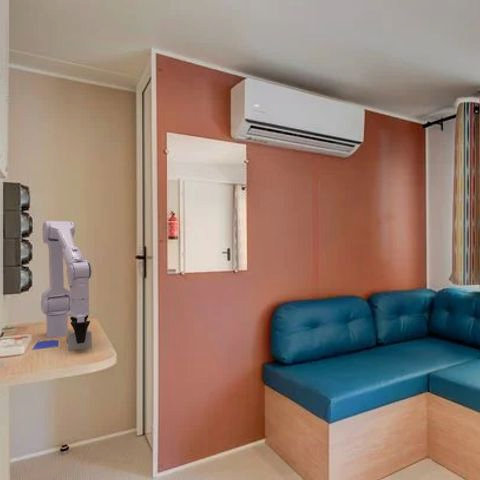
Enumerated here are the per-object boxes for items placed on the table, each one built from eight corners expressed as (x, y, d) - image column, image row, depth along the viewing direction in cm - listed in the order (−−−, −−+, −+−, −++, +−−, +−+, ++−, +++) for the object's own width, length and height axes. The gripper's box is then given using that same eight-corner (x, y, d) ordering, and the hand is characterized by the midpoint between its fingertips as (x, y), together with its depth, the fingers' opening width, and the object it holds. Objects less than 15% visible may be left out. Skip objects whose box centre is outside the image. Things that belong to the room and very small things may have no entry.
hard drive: (59, 346, 121) (61, 337, 133) (31, 349, 118) (35, 340, 129) (59, 351, 121) (61, 342, 133) (31, 354, 118) (35, 345, 129)
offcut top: (66, 340, 128) (66, 336, 128) (78, 338, 131) (78, 334, 131) (70, 343, 126) (70, 338, 126) (82, 340, 128) (82, 336, 128)
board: (68, 351, 119) (67, 333, 119) (91, 348, 122) (90, 330, 122) (68, 353, 116) (67, 334, 116) (91, 350, 119) (91, 332, 119)
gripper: (65, 296, 124) (66, 336, 124) (66, 303, 111) (66, 347, 111) (88, 295, 127) (88, 333, 127) (91, 301, 114) (91, 344, 114)
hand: (80, 340), depth 119 cm, fingers open, 7 cm apart
